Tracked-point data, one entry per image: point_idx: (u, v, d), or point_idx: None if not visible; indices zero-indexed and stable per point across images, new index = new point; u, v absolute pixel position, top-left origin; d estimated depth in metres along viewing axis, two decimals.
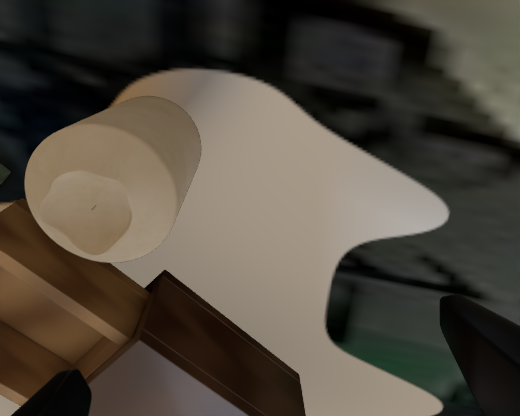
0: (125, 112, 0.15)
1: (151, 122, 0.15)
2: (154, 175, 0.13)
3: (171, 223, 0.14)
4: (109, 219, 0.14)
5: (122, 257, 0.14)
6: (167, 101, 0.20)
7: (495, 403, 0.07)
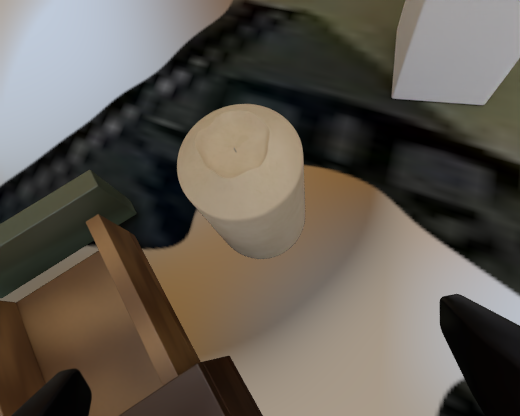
0: None
1: None
2: (291, 138, 0.16)
3: (291, 187, 0.15)
4: (243, 164, 0.15)
5: (238, 204, 0.15)
6: None
7: (495, 403, 0.07)
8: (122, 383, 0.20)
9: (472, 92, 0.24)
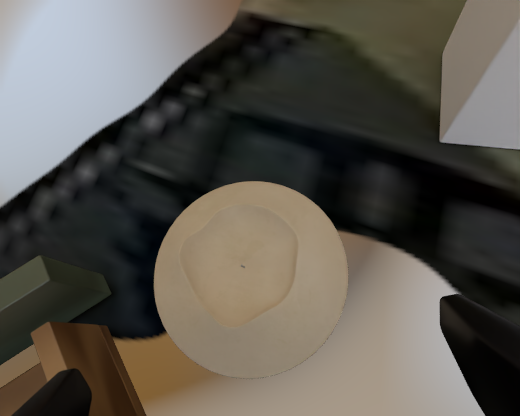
0: None
1: None
2: (331, 245, 0.10)
3: (332, 326, 0.10)
4: (255, 290, 0.10)
5: (249, 360, 0.09)
6: None
7: (495, 403, 0.07)
8: None
9: None
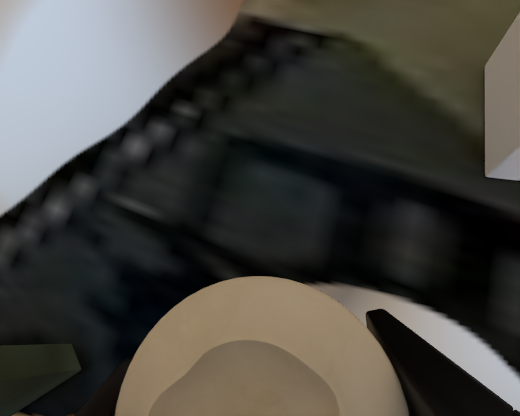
0: None
1: None
2: (386, 397, 0.06)
3: None
4: None
5: None
6: None
7: None
8: None
9: None
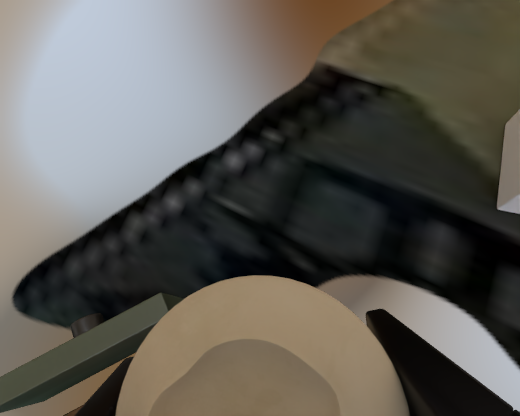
0: None
1: None
2: (386, 396, 0.06)
3: None
4: None
5: None
6: None
7: None
8: None
9: None
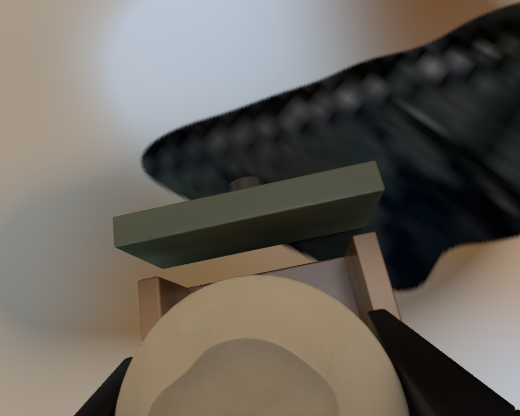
0: None
1: None
2: (386, 396, 0.06)
3: None
4: None
5: None
6: None
7: None
8: None
9: None
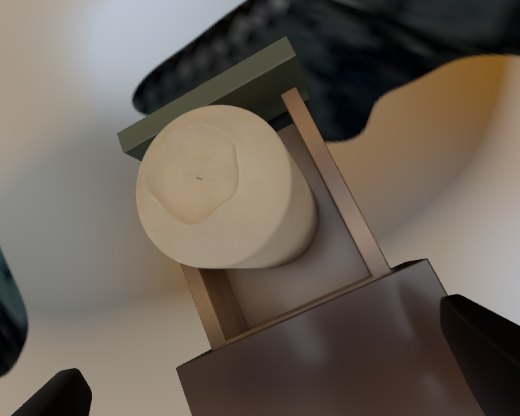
0: None
1: None
2: (267, 142, 0.12)
3: (284, 207, 0.12)
4: (214, 194, 0.12)
5: (221, 249, 0.11)
6: None
7: (495, 403, 0.07)
8: (298, 269, 0.20)
9: None
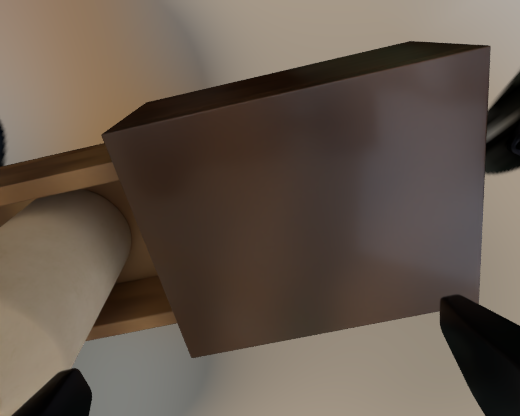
0: None
1: None
2: None
3: None
4: None
5: (38, 367, 0.12)
6: None
7: (495, 403, 0.07)
8: None
9: None
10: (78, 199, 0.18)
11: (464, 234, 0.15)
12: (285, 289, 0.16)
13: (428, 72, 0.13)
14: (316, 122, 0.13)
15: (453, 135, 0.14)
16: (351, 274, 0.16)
